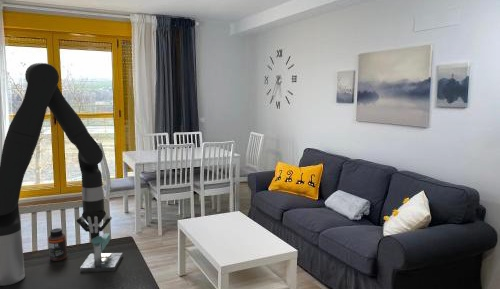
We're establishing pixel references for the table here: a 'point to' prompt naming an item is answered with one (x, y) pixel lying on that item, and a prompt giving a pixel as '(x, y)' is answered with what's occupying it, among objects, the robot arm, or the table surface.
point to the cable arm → (101, 240)
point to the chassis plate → (101, 261)
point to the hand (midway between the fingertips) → (95, 241)
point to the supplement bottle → (57, 245)
